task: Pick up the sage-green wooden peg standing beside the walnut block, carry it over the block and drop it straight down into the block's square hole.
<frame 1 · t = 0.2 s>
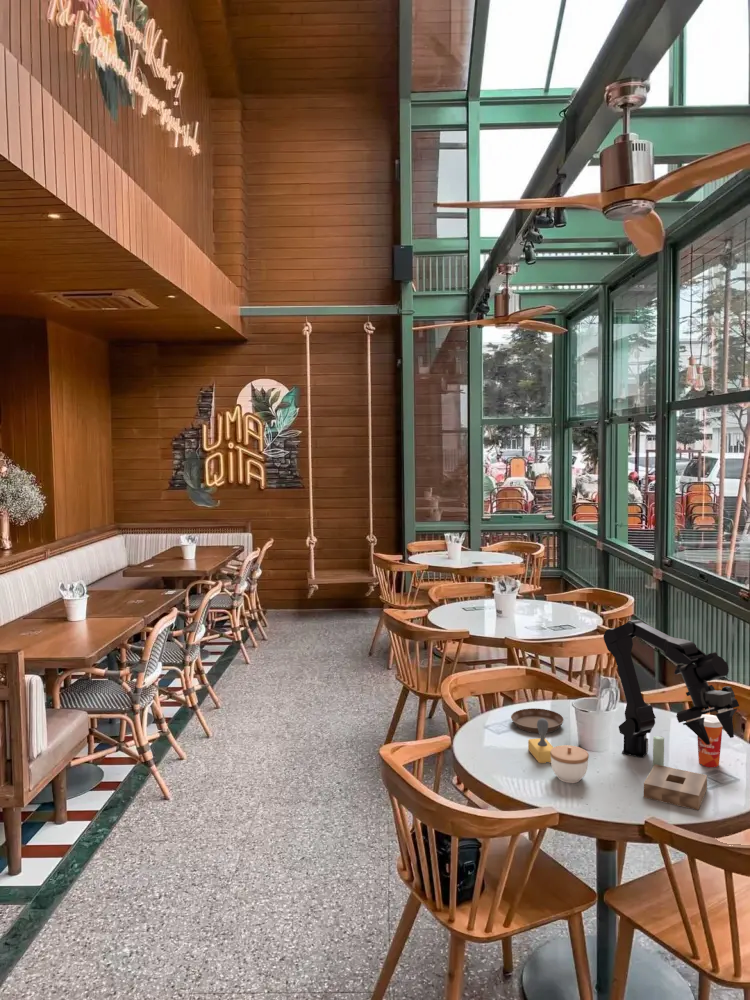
hand: (720, 741, 206), 15 cm above the table, tool tilted 30°, fingers open, 9 cm apart
hole block: (675, 793, 207), on the table
peg: (658, 771, 220), on the table
plant saucer: (537, 726, 257), on the table
paper cup: (709, 764, 225), on the table
lidded jar: (569, 779, 216), on the table
rubber stamp: (542, 756, 232), on the table
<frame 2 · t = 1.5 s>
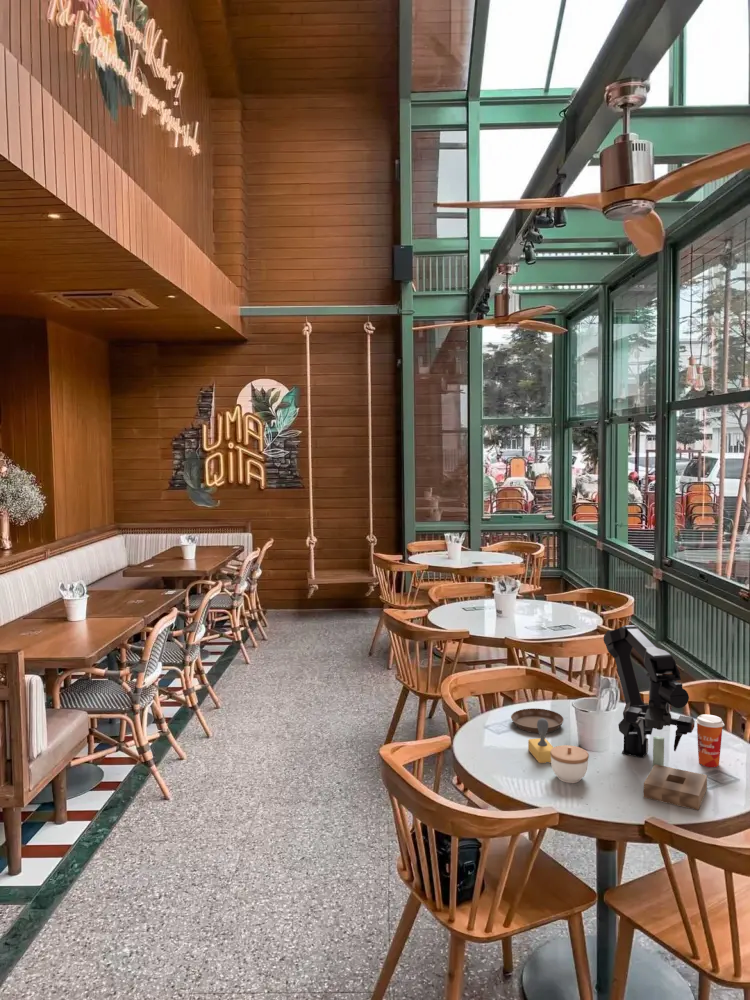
hand: (658, 747, 220), 7 cm above the table, tool pointing down, fingers open, 9 cm apart
nothing on the table moved.
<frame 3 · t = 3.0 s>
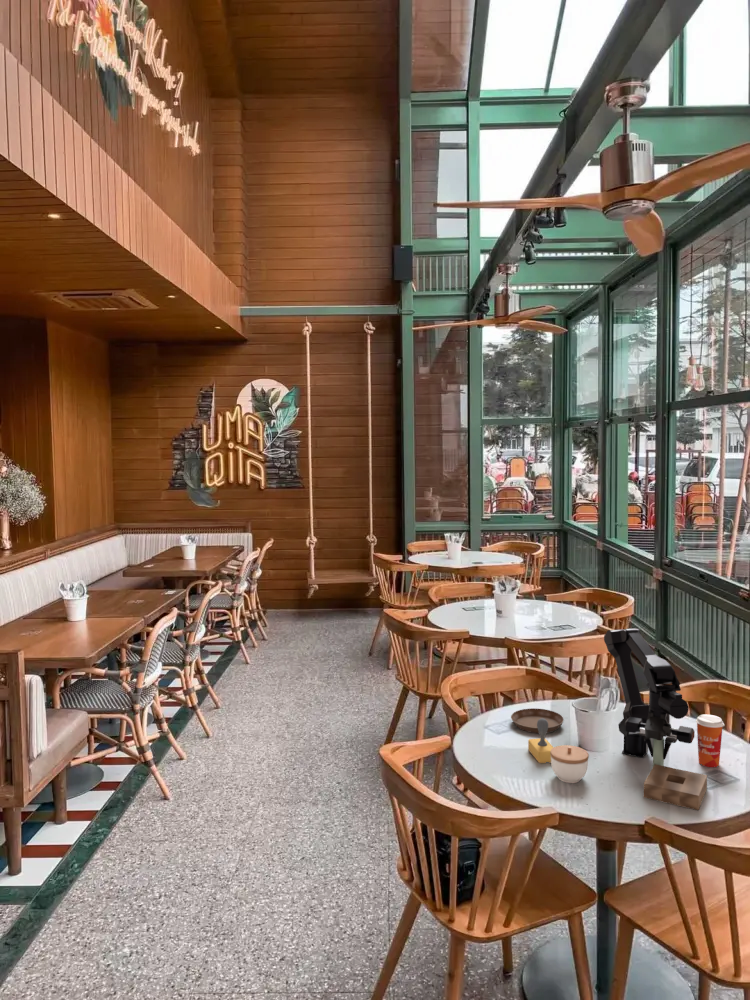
hand: (658, 757, 220), 4 cm above the table, tool pointing down, fingers closed on peg, 3 cm apart
peg: (658, 771, 220), on the table, touching gripper
everything else where it was.
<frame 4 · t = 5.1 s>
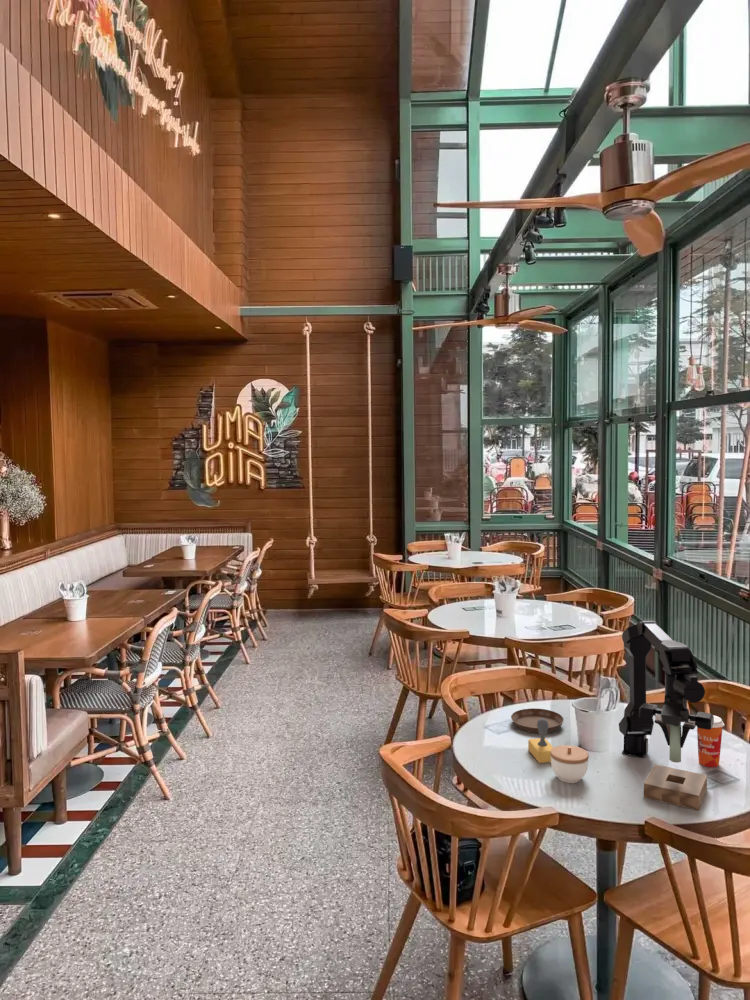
hand: (675, 746, 206), 13 cm above the table, tool pointing down, fingers closed on peg, 3 cm apart
peg: (675, 760, 207), point 9 cm above the table, touching gripper
everything else where it was.
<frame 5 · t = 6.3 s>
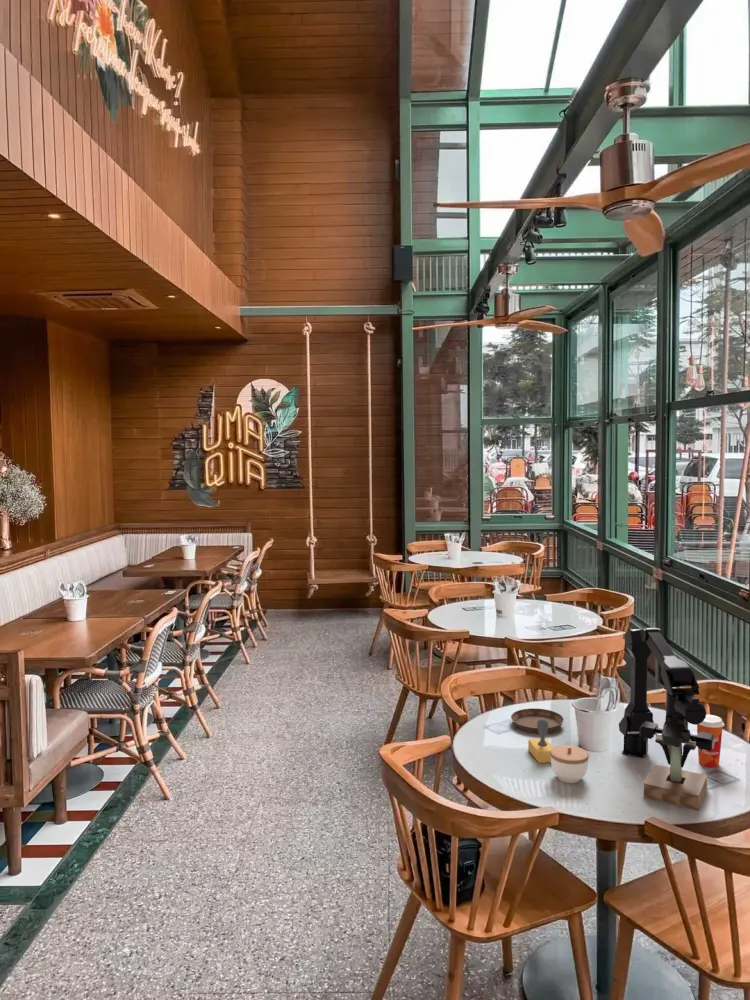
hand: (675, 765, 206), 8 cm above the table, tool pointing down, fingers closed on peg, 3 cm apart
peg: (675, 779, 206), point 4 cm above the table, touching gripper
everything else where it was.
when the fingers open (5 cm above the table, at t = 7.1 s): peg drops 2 cm, resting in hole block.
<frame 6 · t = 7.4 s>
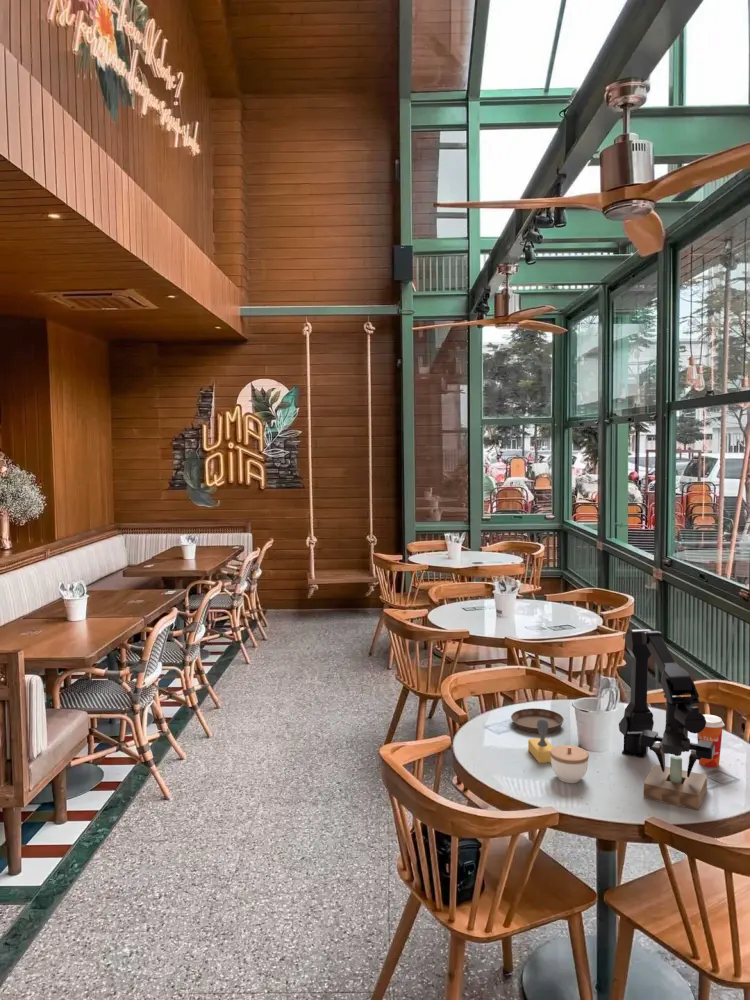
hand: (675, 773, 206), 5 cm above the table, tool pointing down, fingers open, 6 cm apart
peg: (675, 793, 207), resting in hole block
everything else where it was.
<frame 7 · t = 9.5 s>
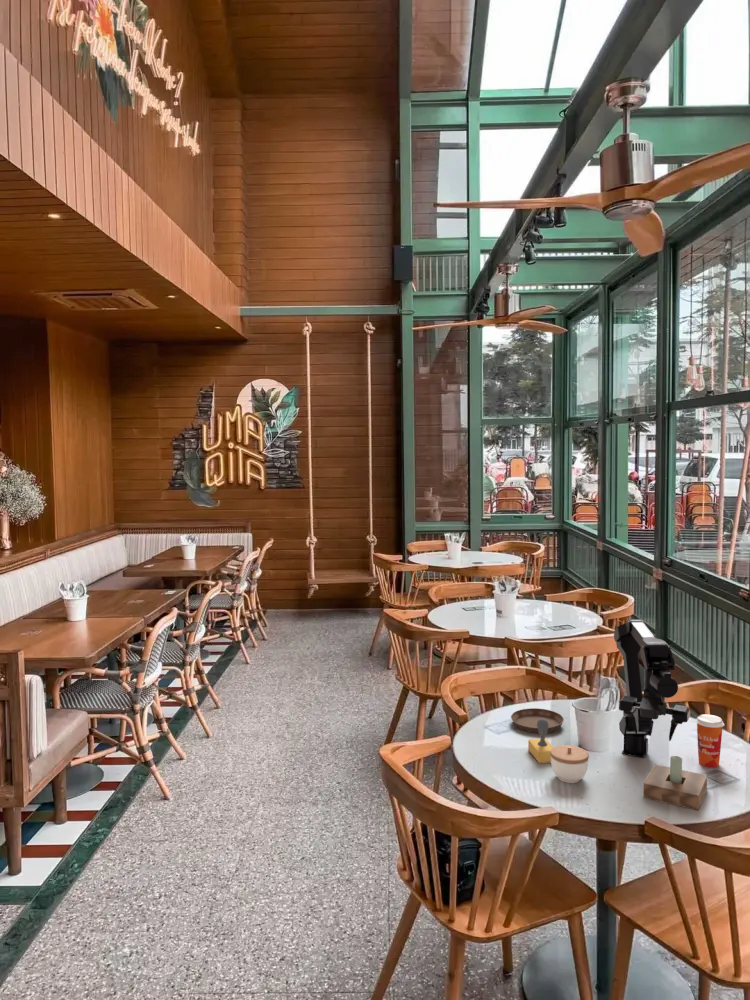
hand: (653, 737, 216), 12 cm above the table, tool pointing down, fingers open, 9 cm apart
nothing on the table moved.
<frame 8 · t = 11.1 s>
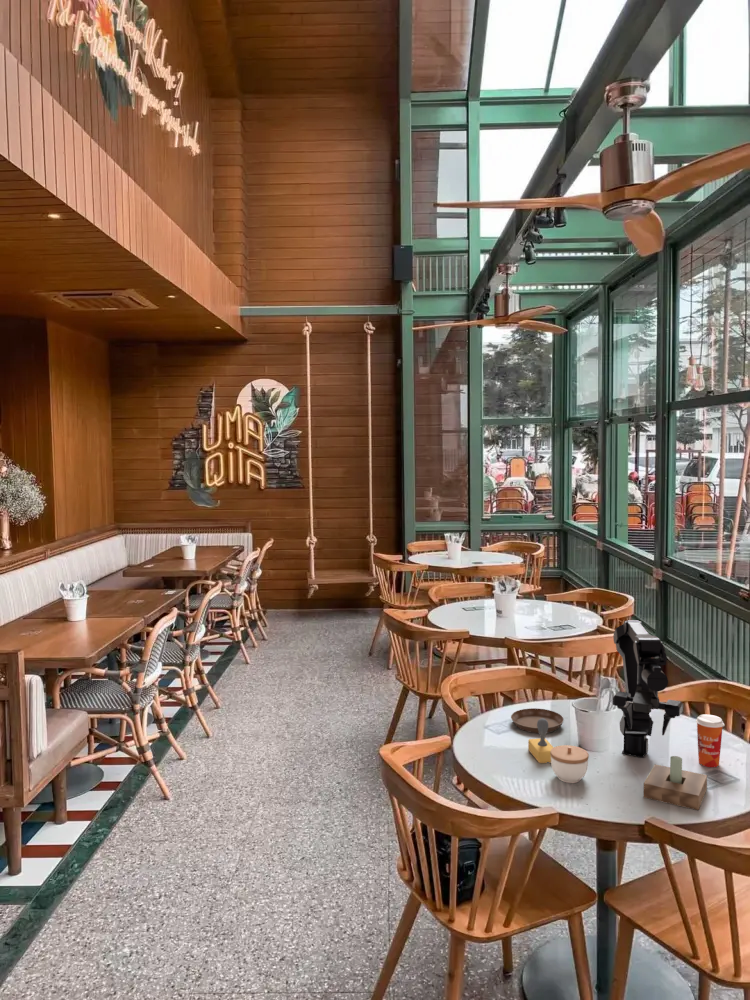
hand: (646, 731, 219), 12 cm above the table, tool pointing down, fingers open, 9 cm apart
nothing on the table moved.
at the end: peg 0.0 cm off-centre on the hole block, point 0.0 cm above the hole block's base; peg tilted 0°; the gripper is holding nothing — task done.
